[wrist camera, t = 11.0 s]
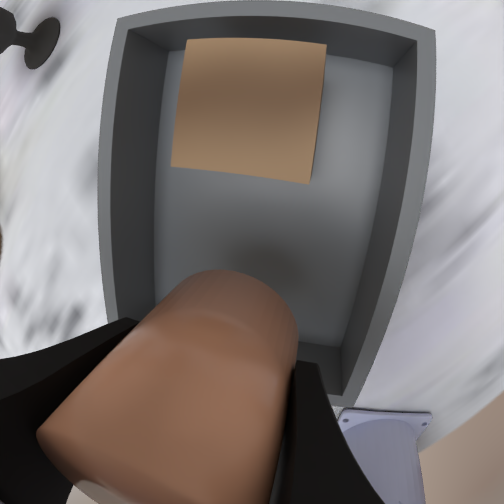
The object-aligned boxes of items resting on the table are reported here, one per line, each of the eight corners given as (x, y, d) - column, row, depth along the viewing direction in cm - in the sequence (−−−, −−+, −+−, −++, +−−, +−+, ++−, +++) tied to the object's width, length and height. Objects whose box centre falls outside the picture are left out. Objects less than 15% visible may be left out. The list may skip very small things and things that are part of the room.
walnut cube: (311, 174, 14) (309, 184, 10) (214, 161, 15) (170, 166, 10) (324, 79, 13) (326, 45, 8) (225, 70, 13) (187, 39, 9)
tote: (348, 351, 18) (352, 407, 13) (151, 310, 20) (112, 349, 15) (403, 62, 12) (435, 30, 7) (165, 44, 14) (117, 18, 9)
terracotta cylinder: (283, 396, 11) (245, 559, 4) (166, 366, 12) (77, 494, 5) (312, 286, 9) (286, 509, 3) (164, 256, 10) (2, 383, 3)
